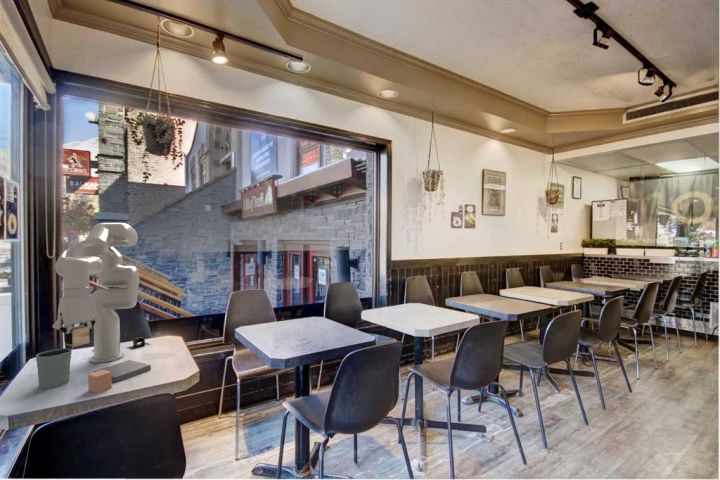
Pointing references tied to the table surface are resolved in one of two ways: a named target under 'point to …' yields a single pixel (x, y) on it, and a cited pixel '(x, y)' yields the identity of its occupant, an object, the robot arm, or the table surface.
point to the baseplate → (126, 370)
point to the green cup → (53, 367)
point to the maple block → (79, 335)
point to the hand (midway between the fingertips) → (77, 341)
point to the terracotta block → (99, 381)
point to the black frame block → (137, 340)
